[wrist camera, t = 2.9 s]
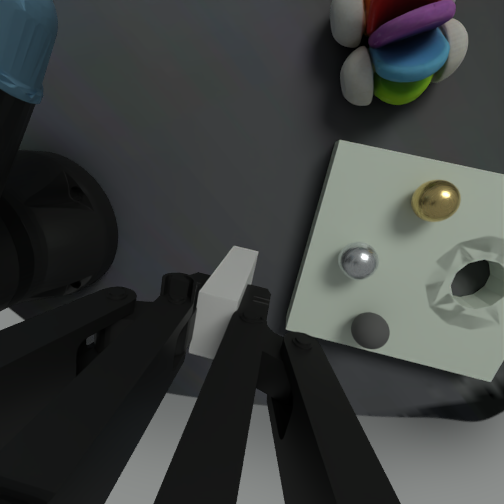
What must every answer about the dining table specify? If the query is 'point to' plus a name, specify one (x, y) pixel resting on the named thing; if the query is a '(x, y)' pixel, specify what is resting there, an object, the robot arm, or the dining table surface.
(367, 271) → the steel ball
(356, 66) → the rainbow disc rolling toy
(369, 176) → the pale green flat slab
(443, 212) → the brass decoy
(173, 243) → the dining table surface
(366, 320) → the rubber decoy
